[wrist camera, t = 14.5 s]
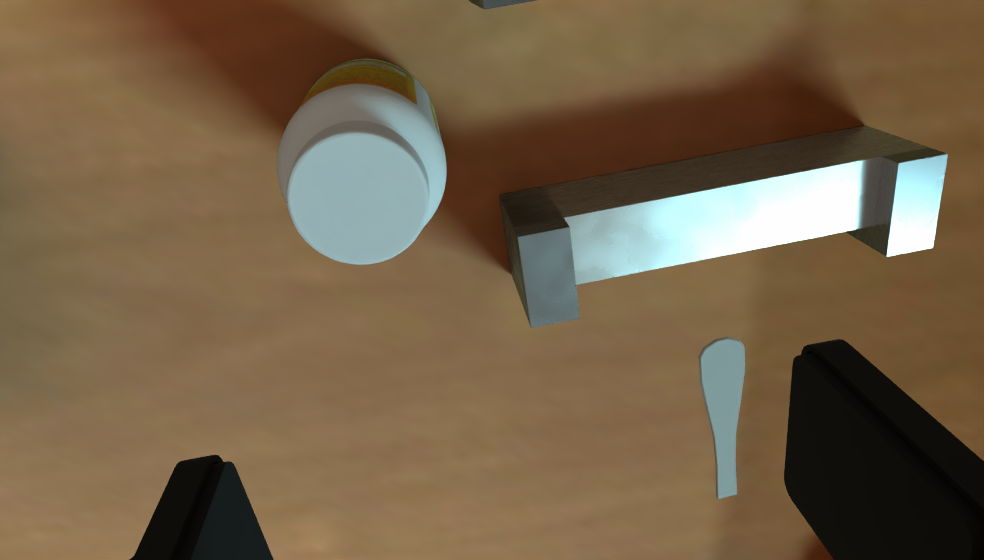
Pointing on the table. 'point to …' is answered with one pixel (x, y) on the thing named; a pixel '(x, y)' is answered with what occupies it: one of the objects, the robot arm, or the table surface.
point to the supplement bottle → (362, 162)
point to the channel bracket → (718, 209)
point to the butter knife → (723, 404)
